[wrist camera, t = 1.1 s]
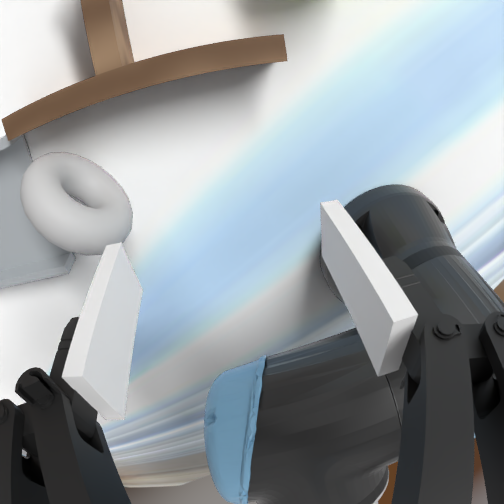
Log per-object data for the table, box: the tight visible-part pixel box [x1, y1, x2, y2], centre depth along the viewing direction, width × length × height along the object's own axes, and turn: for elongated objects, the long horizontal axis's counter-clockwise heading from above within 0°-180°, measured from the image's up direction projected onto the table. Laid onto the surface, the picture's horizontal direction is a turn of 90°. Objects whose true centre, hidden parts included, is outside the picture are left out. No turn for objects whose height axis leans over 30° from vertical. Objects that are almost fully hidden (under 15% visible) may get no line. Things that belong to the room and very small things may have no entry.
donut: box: [20, 152, 133, 255], centre depth 22 cm, size 10×3×10 cm, turn 47°
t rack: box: [2, 0, 287, 141], centre depth 16 cm, size 12×22×5 cm, turn 99°
